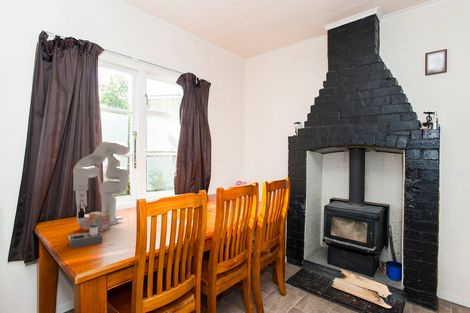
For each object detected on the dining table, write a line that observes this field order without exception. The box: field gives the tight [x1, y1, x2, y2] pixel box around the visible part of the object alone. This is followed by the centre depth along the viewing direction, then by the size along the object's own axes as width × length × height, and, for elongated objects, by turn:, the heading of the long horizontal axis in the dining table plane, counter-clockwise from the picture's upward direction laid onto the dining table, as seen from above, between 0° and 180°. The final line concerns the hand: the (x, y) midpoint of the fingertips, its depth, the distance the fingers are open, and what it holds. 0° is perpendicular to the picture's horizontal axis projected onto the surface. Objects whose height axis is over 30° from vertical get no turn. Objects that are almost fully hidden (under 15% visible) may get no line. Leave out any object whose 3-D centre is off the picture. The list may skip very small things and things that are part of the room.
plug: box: [76, 205, 86, 223], centre depth 151 cm, size 4×4×10 cm
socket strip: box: [69, 231, 103, 249], centre depth 142 cm, size 15×9×6 cm, turn 127°
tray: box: [67, 232, 88, 242], centre depth 151 cm, size 11×9×2 cm
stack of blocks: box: [79, 211, 111, 233], centre depth 169 cm, size 21×6×12 cm, turn 68°
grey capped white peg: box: [89, 223, 99, 237], centre depth 144 cm, size 4×4×10 cm
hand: (80, 216), depth 152 cm, fingers closed on plug, 4 cm apart
